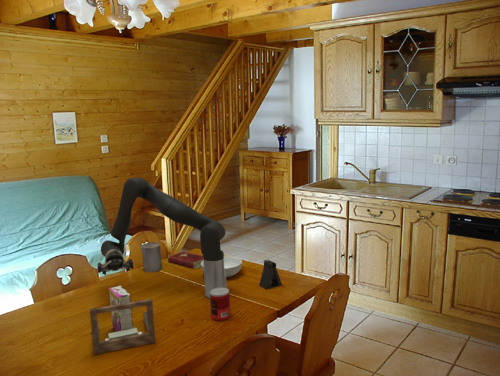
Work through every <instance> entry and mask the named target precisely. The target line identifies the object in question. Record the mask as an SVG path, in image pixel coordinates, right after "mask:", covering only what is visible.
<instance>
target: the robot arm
mask: <svg viewBox="0 0 500 376" xmlns="http://www.w3.org/2000/svg"><path fill="white" fill-rule="evenodd" d="M121 193H122V194H121V198H120V202H119V207H118V211H117V213H116V217H115V220H114V223H113V225H112V229H111V231H110V236H111V237H113V238H114V239H116V240H117V241H118V242H116V241H113V240H110V239H108V240H105V241H103V242H102V243H101V245H100V253H101V255H102V256H103V257H104V259H105V261H104V263H102V262H98V263H97V266H96V267H97V274H102V275H104V276H107V273H108V272H111V271H112V272H117V271H119V270H123V271H124V270H125V271H126V273H129V272H130V271H131V269H132V270H133V269H134V261H133V259H132V258H129V259H128V260H124V256H123V255H124V253H125V243H126V238H127V234H128V231H129V228H130V227H131V226H130V225H131V222H132V211H133V207H134V204H135V202H136V200H137V199H138V198H140V199H143V200H145V201H147V202H149V203H150V204H152V205H153V206H154V207H155V208H156V209H157V210H158V211H159V212H160V213H161V214H162V215H163V216H165V217H166V218H168V219H169V220H171V221H172V222H175V223H177V224H180V225H185V226H188V227H192V228H195V229H197V230H198V231H199V232H200V233H199V242H200V251H201V254H202V256H203V261H204V271H203V274H204V275H203V276H204V277H203V278H204V295H205V297H206V298H208V299H210V291H211V290H212V289H215V288H227V289H228V287H227V286H228V285H227V277H226V275H225V270H224V256H225V254H224V251H223V250H221V240H223V239H224V237H225V236H226V229H225V226H224V225H223V224H222V223H221V222H219V221H217V220H215V219H212V218H210V217H208V216H206V215H203V213H200V212H198V211H197V210H195V209H193V208H192V207H190V206H188V205H187V204H186V203H185V202H184V203H183V201H180V200H179V199H177V198H175V197H174V196H171V195H170V194H168V193H167V192H164V191H161V190H160V189H158V188H157V187H156V186H154V185H153V184H152V183H150V182H149V181H148V180H146V179H145V178H142V177H130V178H128V179H126V181H125V182H124V183H123V187H122V192H121ZM101 272H102V273H101Z"/></svg>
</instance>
